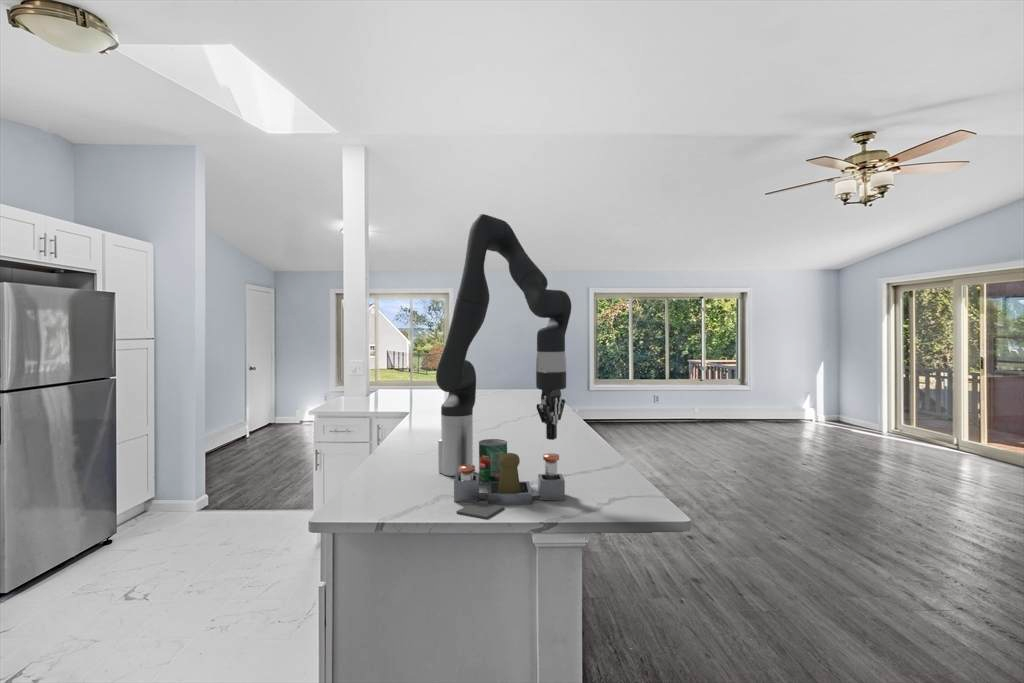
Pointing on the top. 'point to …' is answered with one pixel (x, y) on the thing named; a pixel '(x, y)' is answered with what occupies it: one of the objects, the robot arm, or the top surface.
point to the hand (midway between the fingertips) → (551, 439)
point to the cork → (509, 473)
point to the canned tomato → (490, 459)
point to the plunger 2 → (550, 466)
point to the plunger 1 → (466, 472)
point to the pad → (480, 510)
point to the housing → (546, 491)
